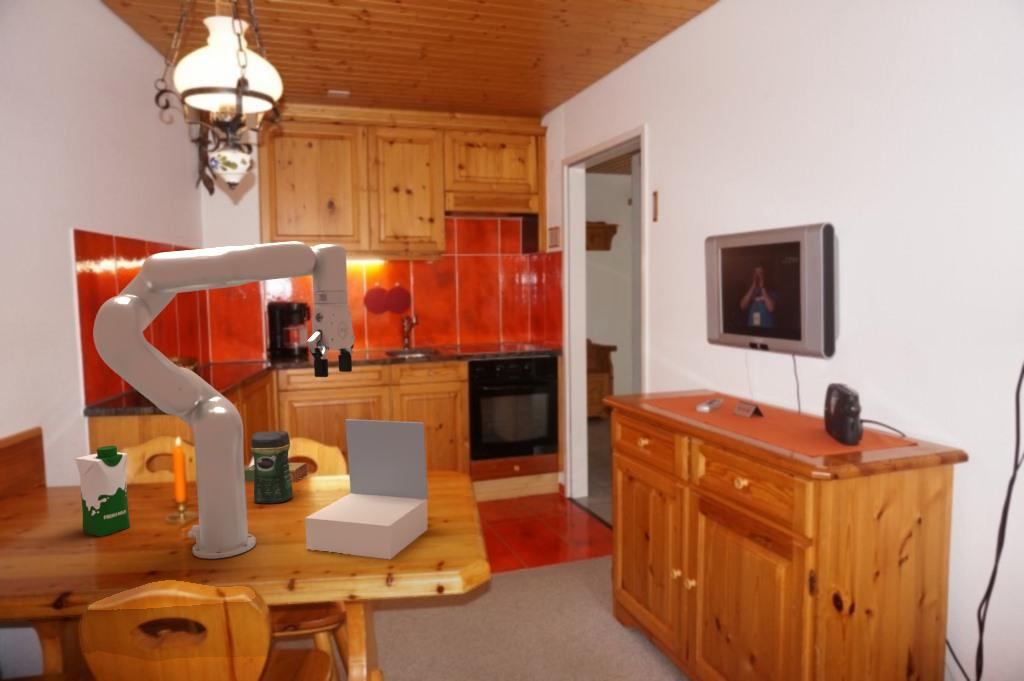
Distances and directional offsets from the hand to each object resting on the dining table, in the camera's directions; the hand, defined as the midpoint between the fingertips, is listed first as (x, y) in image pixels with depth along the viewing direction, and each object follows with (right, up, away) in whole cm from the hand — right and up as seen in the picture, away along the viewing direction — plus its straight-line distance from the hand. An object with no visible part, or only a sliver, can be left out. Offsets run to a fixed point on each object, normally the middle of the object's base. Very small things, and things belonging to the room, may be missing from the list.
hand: (333, 374), depth 154 cm
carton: (-30, -34, +48) cm, 66 cm away
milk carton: (-55, -37, +5) cm, 67 cm away
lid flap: (+11, -20, +3) cm, 23 cm away
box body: (+9, -37, -4) cm, 38 cm away
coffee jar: (-23, -35, +26) cm, 50 cm away
